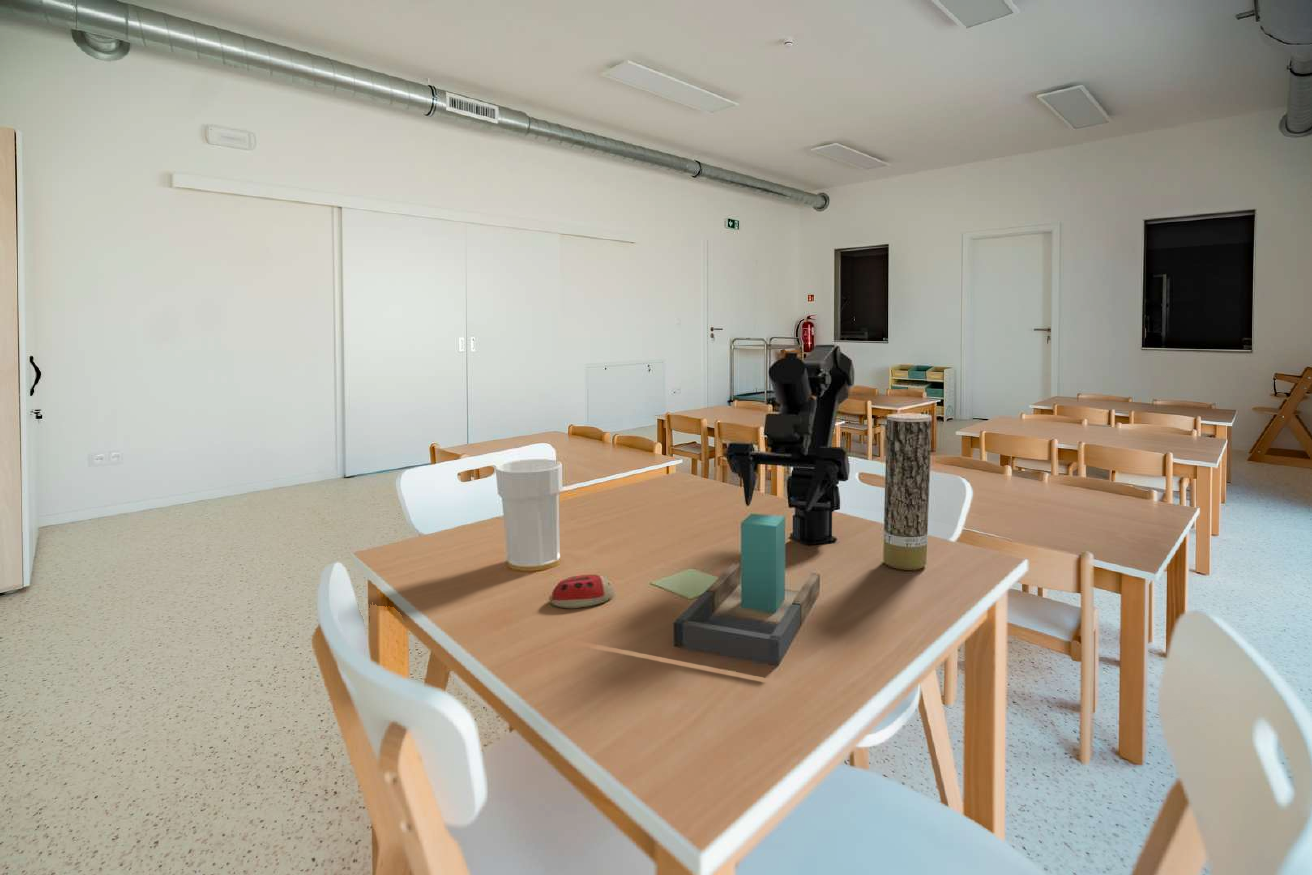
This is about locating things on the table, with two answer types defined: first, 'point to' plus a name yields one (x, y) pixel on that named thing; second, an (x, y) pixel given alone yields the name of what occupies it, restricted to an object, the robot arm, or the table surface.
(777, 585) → the teal block
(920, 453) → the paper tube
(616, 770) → the table surface
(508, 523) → the cup
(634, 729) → the table surface
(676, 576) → the pad
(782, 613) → the open channel
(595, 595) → the ladybug figurine
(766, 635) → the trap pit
